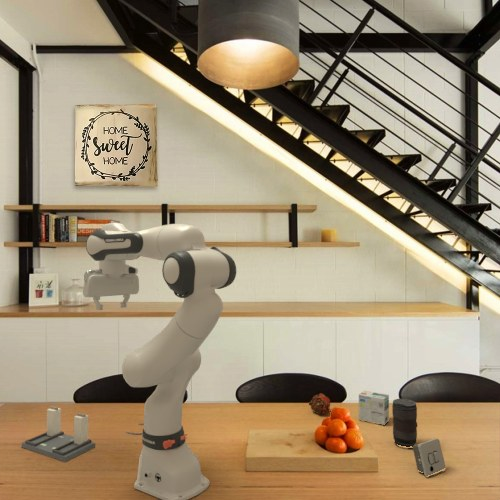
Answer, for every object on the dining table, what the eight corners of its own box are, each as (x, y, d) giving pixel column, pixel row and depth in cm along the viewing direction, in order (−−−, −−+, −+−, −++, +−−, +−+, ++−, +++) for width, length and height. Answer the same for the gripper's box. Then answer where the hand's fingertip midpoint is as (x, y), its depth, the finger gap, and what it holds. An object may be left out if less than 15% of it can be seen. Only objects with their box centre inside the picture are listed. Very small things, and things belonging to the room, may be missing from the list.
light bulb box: (389, 421, 170) (389, 394, 170) (385, 426, 165) (385, 398, 165) (363, 415, 176) (363, 389, 176) (358, 420, 170) (358, 393, 171)
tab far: (60, 433, 152) (60, 406, 152) (53, 436, 149) (53, 409, 149) (54, 431, 154) (54, 405, 154) (46, 434, 151) (47, 407, 151)
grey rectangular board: (95, 447, 145) (95, 440, 145) (65, 461, 135) (65, 454, 135) (52, 434, 155) (52, 428, 156) (21, 447, 145) (21, 440, 145)
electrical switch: (427, 479, 126) (424, 446, 126) (412, 473, 130) (410, 441, 131) (446, 471, 130) (444, 440, 131) (432, 465, 135) (429, 435, 136)
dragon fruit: (321, 422, 172) (316, 415, 184) (337, 409, 173) (331, 403, 185) (308, 404, 174) (304, 399, 185) (325, 392, 174) (320, 387, 186)
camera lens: (396, 437, 154) (396, 396, 154) (419, 443, 149) (419, 401, 150) (389, 445, 148) (389, 402, 148) (413, 452, 143) (413, 407, 143)
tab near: (88, 441, 145) (88, 413, 146) (80, 445, 143) (81, 416, 143) (80, 439, 147) (81, 411, 147) (73, 443, 144) (74, 414, 145)
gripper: (89, 270, 139) (88, 312, 138) (141, 269, 154) (141, 307, 154) (79, 269, 143) (79, 310, 142) (131, 268, 158) (131, 305, 158)
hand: (111, 308), depth 148 cm, fingers open, 8 cm apart
